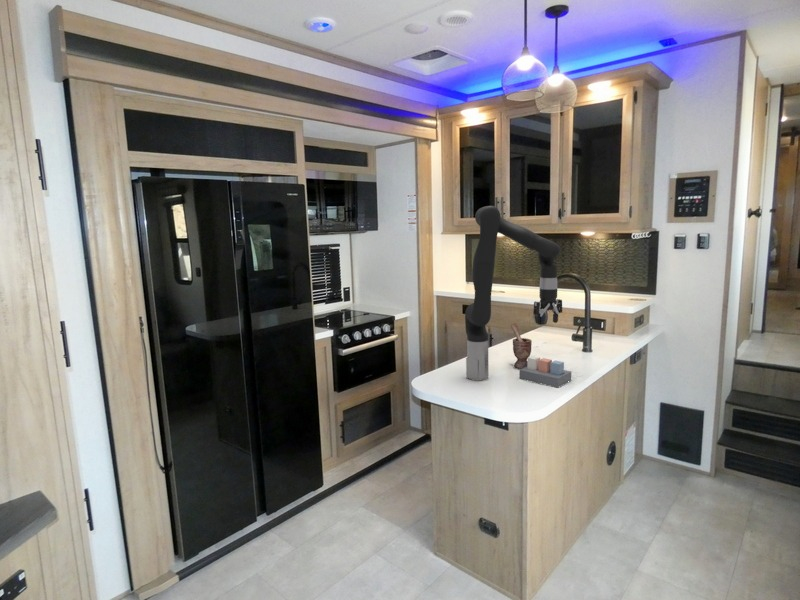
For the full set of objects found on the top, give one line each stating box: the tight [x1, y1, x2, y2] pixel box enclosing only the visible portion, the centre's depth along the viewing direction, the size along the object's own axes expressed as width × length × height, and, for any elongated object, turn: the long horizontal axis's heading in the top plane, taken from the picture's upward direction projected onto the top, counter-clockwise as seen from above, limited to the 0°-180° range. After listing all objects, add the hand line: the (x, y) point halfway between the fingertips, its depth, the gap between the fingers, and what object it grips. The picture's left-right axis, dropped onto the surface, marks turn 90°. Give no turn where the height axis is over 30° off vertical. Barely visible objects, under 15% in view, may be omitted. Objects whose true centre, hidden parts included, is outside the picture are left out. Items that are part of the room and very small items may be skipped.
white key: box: [527, 355, 541, 370], centre depth 210 cm, size 4×4×5 cm
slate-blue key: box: [550, 360, 565, 376], centre depth 203 cm, size 4×4×5 cm
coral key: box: [539, 357, 553, 373], centre depth 207 cm, size 4×4×5 cm
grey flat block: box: [519, 367, 572, 388], centre depth 207 cm, size 12×18×4 cm, turn 45°
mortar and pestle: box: [510, 322, 533, 369], centre depth 226 cm, size 12×9×20 cm
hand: (547, 323), depth 213 cm, fingers open, 8 cm apart
